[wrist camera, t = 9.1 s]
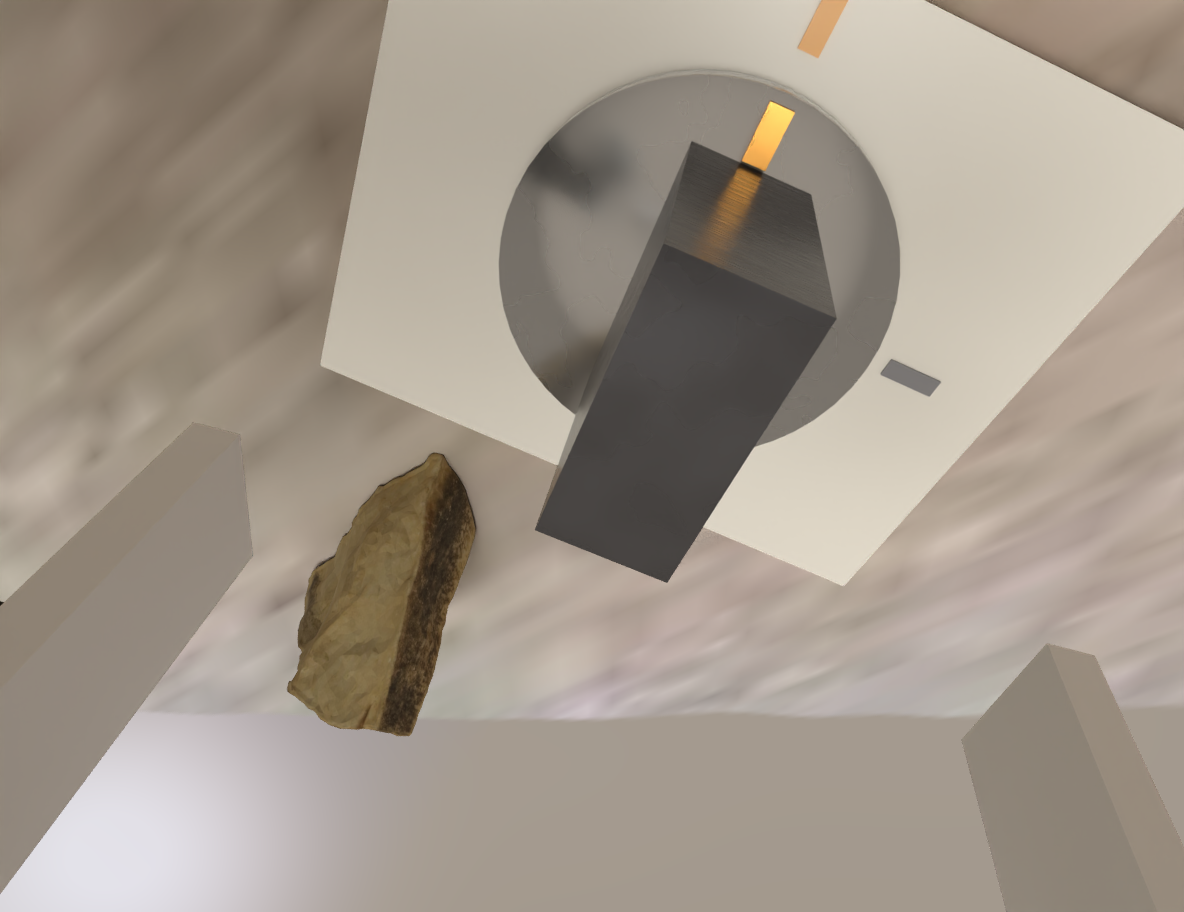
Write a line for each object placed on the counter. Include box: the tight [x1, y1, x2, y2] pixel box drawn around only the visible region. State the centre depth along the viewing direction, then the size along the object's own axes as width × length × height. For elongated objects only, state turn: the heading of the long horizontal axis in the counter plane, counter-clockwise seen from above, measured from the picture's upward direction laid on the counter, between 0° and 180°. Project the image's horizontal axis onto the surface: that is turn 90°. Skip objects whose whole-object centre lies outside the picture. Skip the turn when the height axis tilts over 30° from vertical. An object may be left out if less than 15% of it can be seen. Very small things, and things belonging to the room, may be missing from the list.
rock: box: [287, 453, 475, 736], centre depth 33 cm, size 11×9×10 cm
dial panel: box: [320, 0, 1184, 586], centre depth 25 cm, size 22×18×2 cm
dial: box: [499, 69, 900, 583], centre depth 20 cm, size 12×12×9 cm
